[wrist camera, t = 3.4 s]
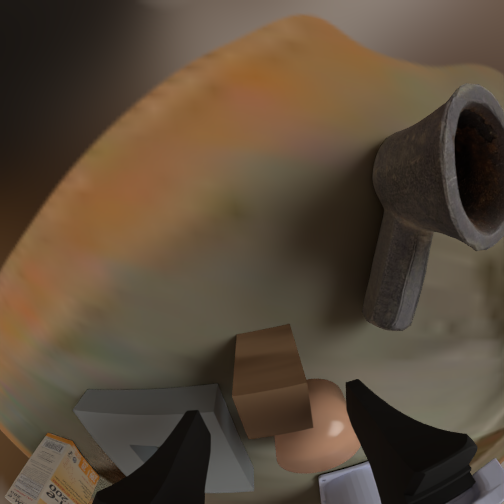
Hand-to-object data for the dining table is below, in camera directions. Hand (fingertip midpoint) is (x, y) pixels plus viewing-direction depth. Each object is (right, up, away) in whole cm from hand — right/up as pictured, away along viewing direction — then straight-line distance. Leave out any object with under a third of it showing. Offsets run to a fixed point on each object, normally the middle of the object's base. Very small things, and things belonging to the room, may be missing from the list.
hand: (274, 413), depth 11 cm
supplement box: (-23, -18, +10) cm, 31 cm away
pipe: (+8, +10, +4) cm, 14 cm away
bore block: (-8, -9, +8) cm, 14 cm away
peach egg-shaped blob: (+3, -4, +7) cm, 9 cm away
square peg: (0, +1, +6) cm, 6 cm away
